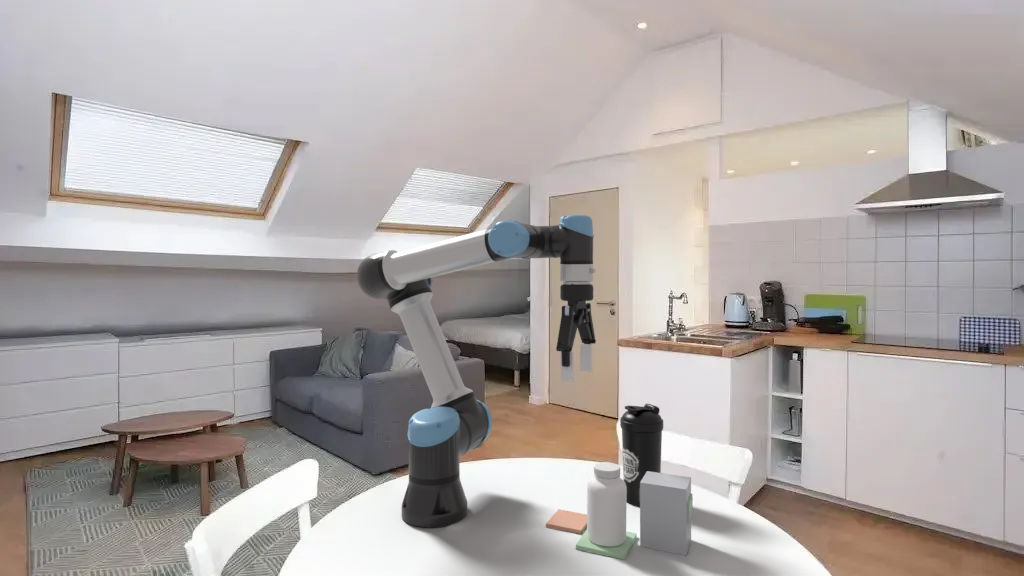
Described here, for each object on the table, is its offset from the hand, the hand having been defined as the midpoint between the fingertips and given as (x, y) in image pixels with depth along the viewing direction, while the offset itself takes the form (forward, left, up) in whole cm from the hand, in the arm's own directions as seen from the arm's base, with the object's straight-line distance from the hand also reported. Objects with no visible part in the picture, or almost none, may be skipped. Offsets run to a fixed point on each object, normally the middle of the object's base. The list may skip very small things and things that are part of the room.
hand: (577, 375), depth 127 cm
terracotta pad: (0, -6, -32) cm, 32 cm away
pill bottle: (+10, -11, -31) cm, 35 cm away
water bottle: (+12, +13, -32) cm, 36 cm away
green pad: (+10, -11, -32) cm, 35 cm away
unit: (+21, -6, -32) cm, 39 cm away
